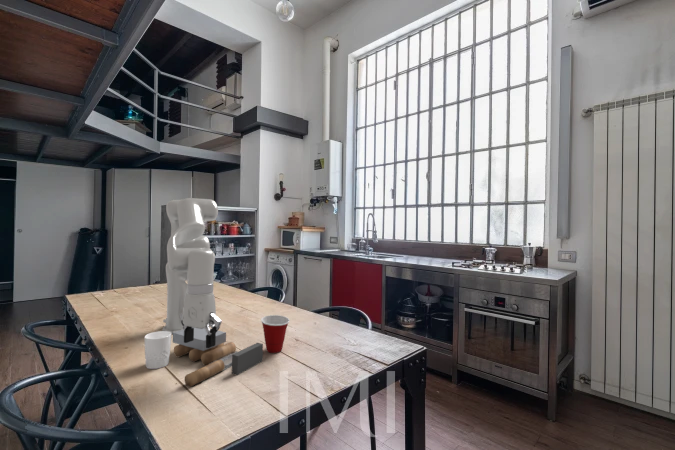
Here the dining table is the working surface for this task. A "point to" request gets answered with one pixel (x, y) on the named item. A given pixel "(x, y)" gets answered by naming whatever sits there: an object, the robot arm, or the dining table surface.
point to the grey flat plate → (226, 360)
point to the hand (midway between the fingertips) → (199, 344)
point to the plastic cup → (274, 332)
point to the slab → (198, 338)
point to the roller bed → (205, 352)
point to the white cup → (157, 349)
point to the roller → (204, 373)
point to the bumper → (247, 358)
